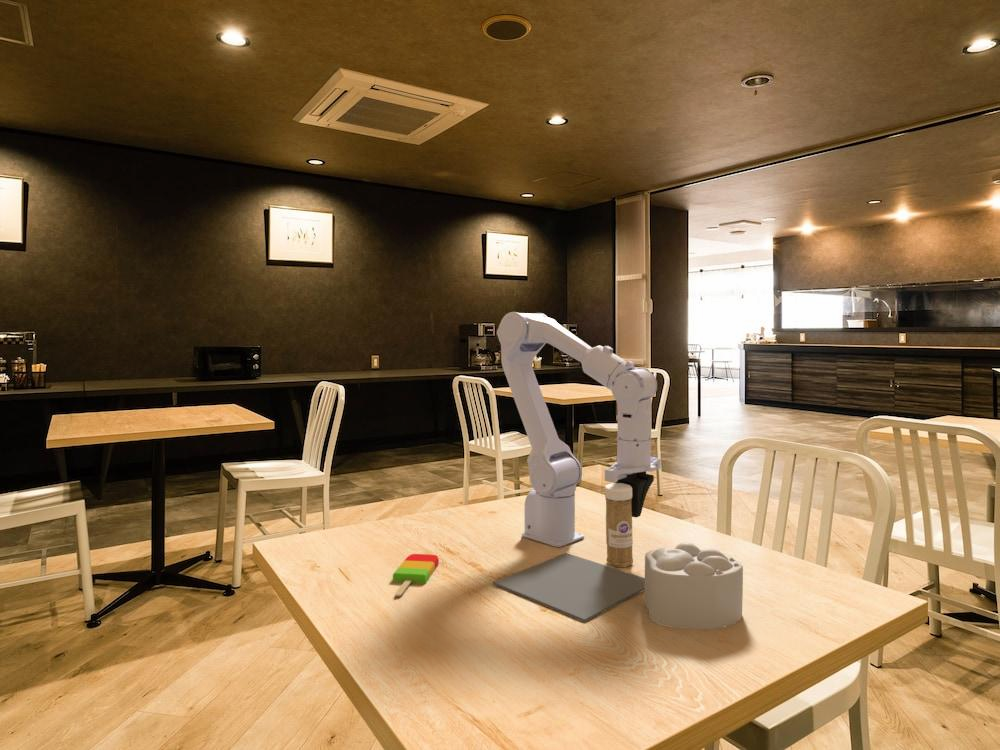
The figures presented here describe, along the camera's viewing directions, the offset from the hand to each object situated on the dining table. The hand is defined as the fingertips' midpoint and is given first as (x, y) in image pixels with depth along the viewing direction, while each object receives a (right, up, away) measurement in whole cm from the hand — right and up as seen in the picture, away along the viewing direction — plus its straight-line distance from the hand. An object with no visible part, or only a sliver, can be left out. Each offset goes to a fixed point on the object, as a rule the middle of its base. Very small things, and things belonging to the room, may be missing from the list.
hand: (633, 515), depth 107 cm
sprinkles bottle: (-3, -8, -2) cm, 8 cm away
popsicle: (-37, -9, -8) cm, 39 cm away
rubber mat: (-12, -8, -11) cm, 18 cm away
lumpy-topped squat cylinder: (+4, -9, -20) cm, 23 cm away
